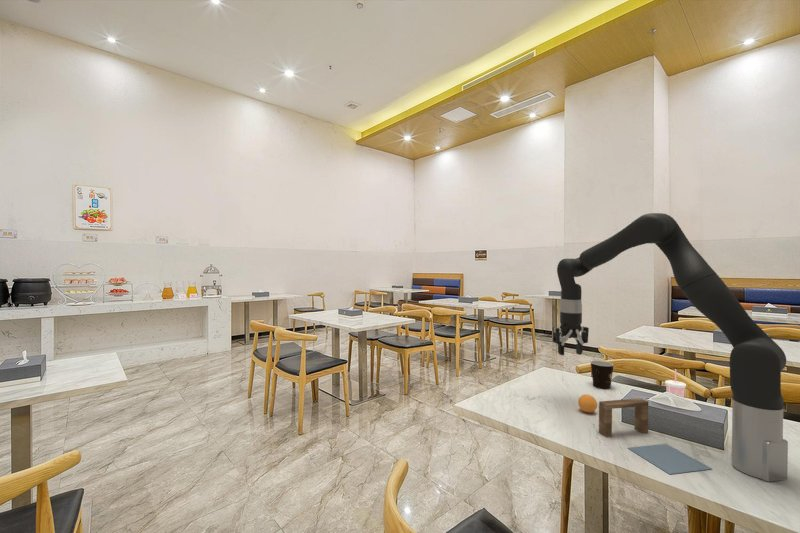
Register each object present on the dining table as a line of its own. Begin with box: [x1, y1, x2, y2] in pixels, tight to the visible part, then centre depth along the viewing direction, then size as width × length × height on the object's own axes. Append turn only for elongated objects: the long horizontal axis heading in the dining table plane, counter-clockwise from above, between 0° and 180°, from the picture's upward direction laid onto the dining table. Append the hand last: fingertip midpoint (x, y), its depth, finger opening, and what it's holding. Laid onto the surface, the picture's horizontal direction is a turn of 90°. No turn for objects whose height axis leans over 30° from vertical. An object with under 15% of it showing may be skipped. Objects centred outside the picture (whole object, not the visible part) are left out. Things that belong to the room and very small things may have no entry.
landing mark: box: [627, 443, 713, 476], centre depth 97 cm, size 13×13×1 cm
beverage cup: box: [664, 368, 687, 399], centre depth 133 cm, size 6×6×14 cm
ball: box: [577, 394, 598, 414], centre depth 128 cm, size 6×6×6 cm
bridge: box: [598, 397, 649, 438], centre depth 112 cm, size 3×15×10 cm, turn 101°
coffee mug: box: [590, 360, 615, 390], centre depth 154 cm, size 12×9×10 cm
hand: (570, 354), depth 137 cm, fingers open, 7 cm apart
